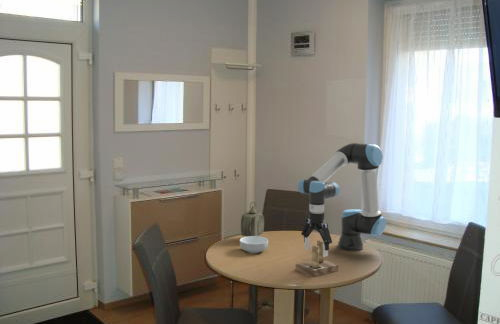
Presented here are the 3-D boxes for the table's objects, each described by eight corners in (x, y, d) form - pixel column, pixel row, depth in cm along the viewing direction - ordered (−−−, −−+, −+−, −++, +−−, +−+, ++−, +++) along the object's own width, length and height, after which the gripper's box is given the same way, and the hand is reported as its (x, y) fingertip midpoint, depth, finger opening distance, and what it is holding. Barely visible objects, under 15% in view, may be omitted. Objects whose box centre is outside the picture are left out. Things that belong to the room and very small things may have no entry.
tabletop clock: (252, 237, 322) (252, 199, 319) (264, 239, 318) (265, 200, 315) (240, 242, 310) (241, 203, 307) (253, 245, 305) (253, 204, 302)
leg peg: (315, 271, 258) (315, 245, 256) (319, 273, 255) (320, 246, 253) (309, 272, 256) (310, 246, 254) (314, 275, 253) (315, 248, 251)
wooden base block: (320, 263, 271) (321, 238, 269) (338, 270, 260) (339, 244, 258) (295, 269, 260) (296, 243, 259) (312, 277, 250) (313, 249, 248)
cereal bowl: (236, 248, 298) (236, 236, 297) (262, 246, 303) (262, 235, 302) (244, 256, 282) (244, 244, 281) (272, 254, 287) (272, 242, 286)
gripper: (294, 208, 260) (294, 248, 263) (328, 217, 240) (327, 260, 242) (305, 206, 264) (305, 245, 267) (339, 215, 244) (339, 257, 247)
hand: (316, 252), depth 255 cm, fingers open, 13 cm apart
